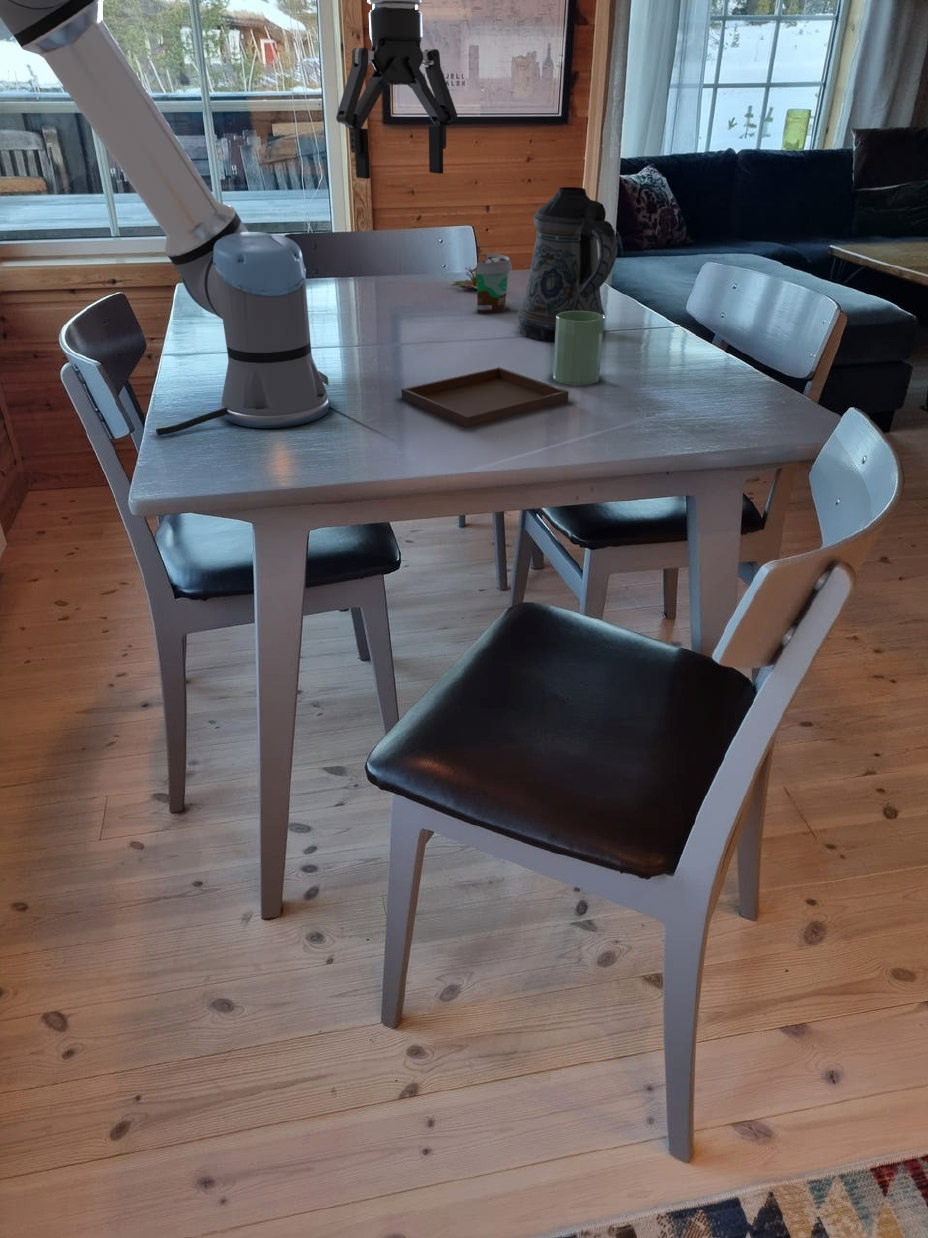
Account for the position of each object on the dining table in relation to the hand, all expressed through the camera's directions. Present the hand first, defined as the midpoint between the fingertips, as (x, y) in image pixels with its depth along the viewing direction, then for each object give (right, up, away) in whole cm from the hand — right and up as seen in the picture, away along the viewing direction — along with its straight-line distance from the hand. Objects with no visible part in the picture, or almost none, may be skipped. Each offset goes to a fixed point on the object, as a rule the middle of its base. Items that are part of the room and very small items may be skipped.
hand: (400, 175), depth 135 cm
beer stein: (+30, -14, +33) cm, 46 cm away
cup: (+28, -30, +7) cm, 41 cm away
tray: (+13, -36, -3) cm, 38 cm away
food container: (+17, -3, +50) cm, 53 cm away
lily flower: (+12, +9, +68) cm, 70 cm away
